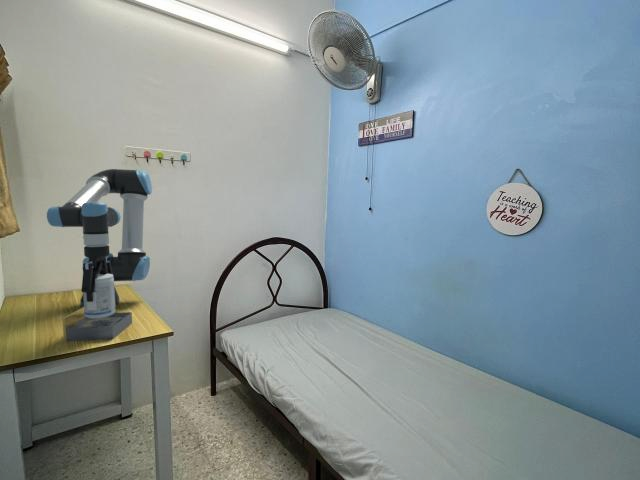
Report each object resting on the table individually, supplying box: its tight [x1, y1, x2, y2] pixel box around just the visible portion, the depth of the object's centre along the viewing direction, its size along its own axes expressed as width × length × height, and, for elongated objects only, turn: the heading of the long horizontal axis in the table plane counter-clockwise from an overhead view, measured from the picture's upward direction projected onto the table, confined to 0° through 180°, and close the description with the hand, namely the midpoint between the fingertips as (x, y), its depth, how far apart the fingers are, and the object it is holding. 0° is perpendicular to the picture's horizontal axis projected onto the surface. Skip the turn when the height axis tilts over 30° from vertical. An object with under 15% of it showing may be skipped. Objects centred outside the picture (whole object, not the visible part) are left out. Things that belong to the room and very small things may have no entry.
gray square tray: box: [62, 307, 133, 342], centre depth 118 cm, size 15×16×8 cm
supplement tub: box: [82, 274, 116, 319], centre depth 117 cm, size 10×10×15 cm
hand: (100, 305), depth 117 cm, fingers closed on supplement tub, 10 cm apart
